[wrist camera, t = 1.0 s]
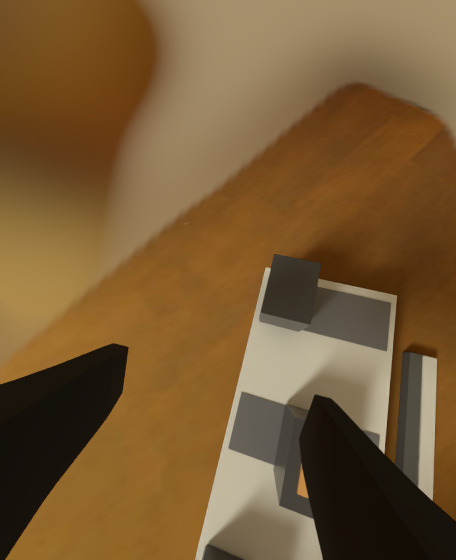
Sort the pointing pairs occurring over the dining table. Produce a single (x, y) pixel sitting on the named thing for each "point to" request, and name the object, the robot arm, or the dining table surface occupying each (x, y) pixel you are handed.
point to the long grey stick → (417, 420)
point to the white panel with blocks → (295, 402)
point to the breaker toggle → (291, 463)
